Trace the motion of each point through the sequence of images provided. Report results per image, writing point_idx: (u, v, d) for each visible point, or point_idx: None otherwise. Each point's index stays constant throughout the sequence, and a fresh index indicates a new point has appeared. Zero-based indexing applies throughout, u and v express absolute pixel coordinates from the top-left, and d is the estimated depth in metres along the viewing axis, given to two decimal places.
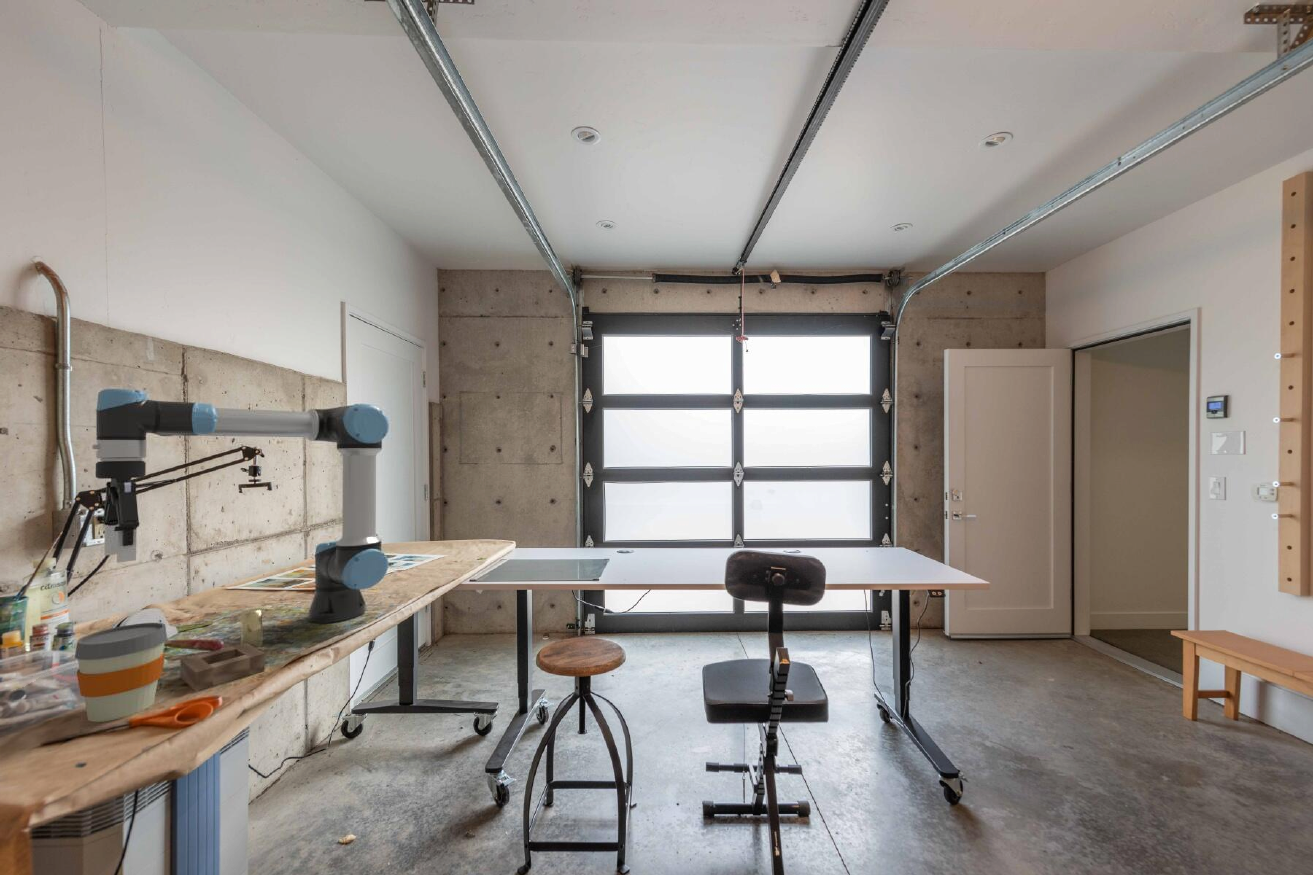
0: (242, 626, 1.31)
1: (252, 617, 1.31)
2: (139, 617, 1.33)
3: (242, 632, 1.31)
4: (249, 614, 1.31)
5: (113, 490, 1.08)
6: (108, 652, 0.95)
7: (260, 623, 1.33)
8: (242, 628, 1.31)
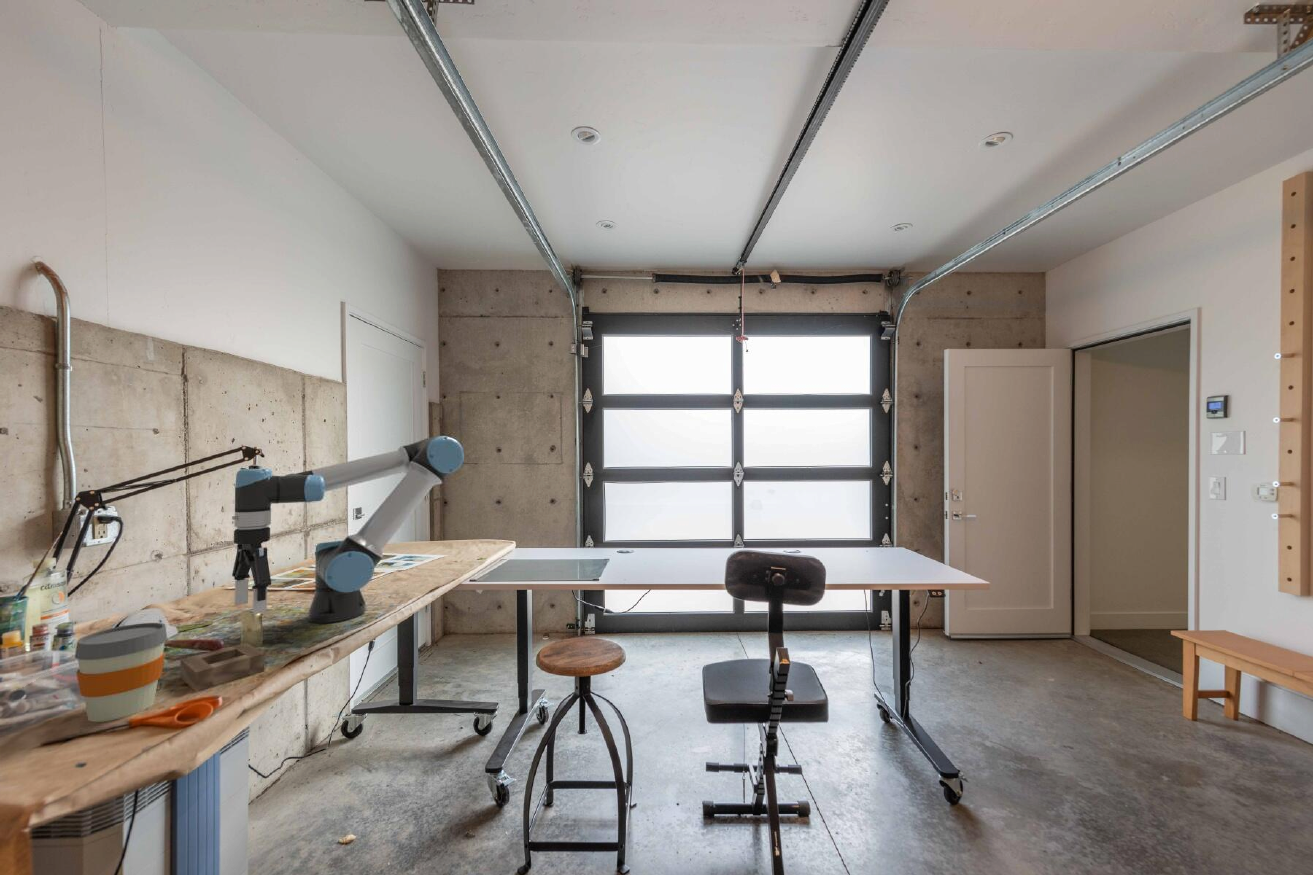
0: (242, 626, 1.31)
1: (252, 617, 1.31)
2: (139, 617, 1.33)
3: (242, 632, 1.31)
4: (249, 614, 1.31)
5: (248, 553, 1.31)
6: (108, 652, 0.95)
7: (260, 623, 1.33)
8: (242, 628, 1.31)
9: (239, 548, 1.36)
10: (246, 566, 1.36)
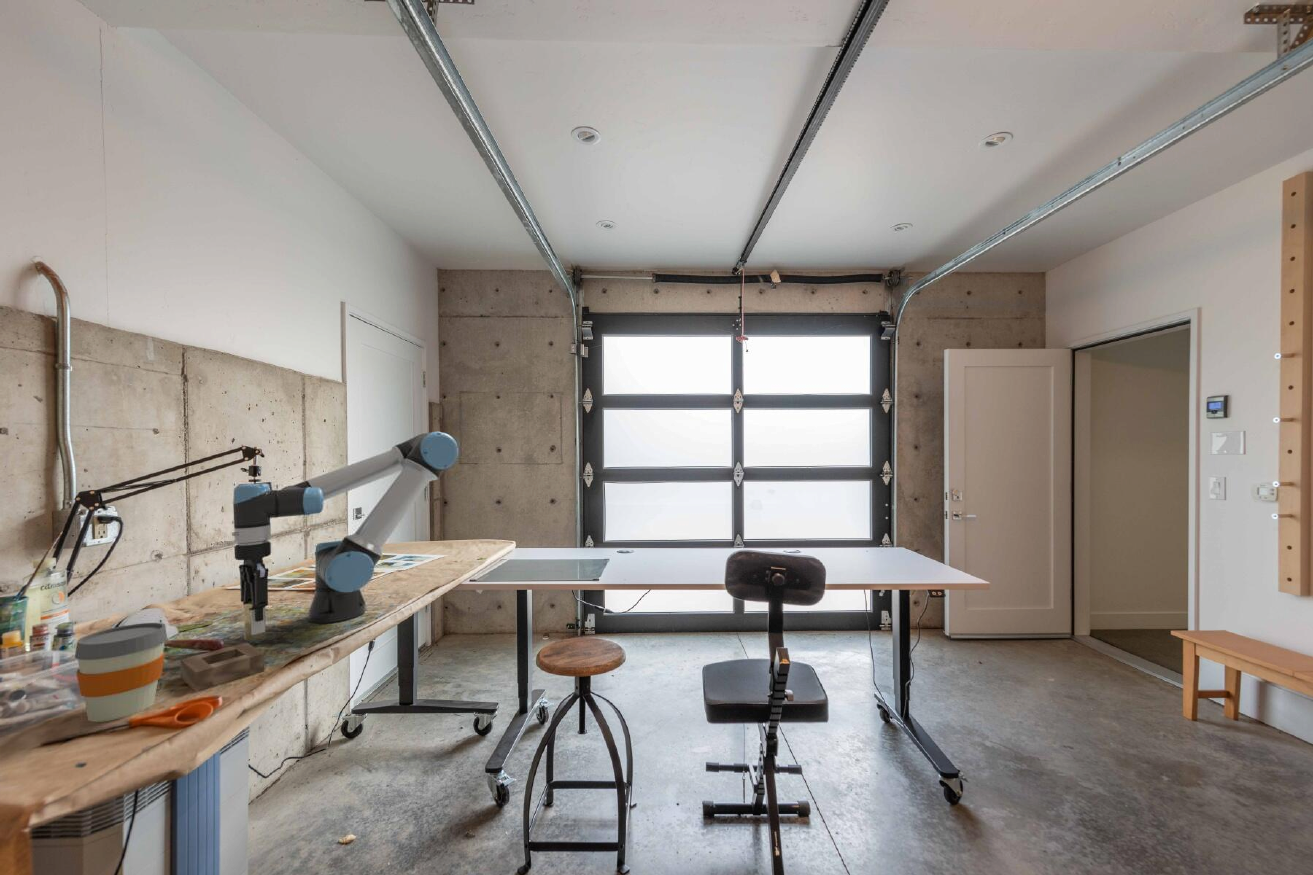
0: (245, 618, 1.31)
1: None
2: (138, 617, 1.33)
3: (245, 624, 1.31)
4: None
5: (249, 570, 1.31)
6: (108, 652, 0.95)
7: None
8: (245, 620, 1.31)
9: (241, 568, 1.35)
10: None
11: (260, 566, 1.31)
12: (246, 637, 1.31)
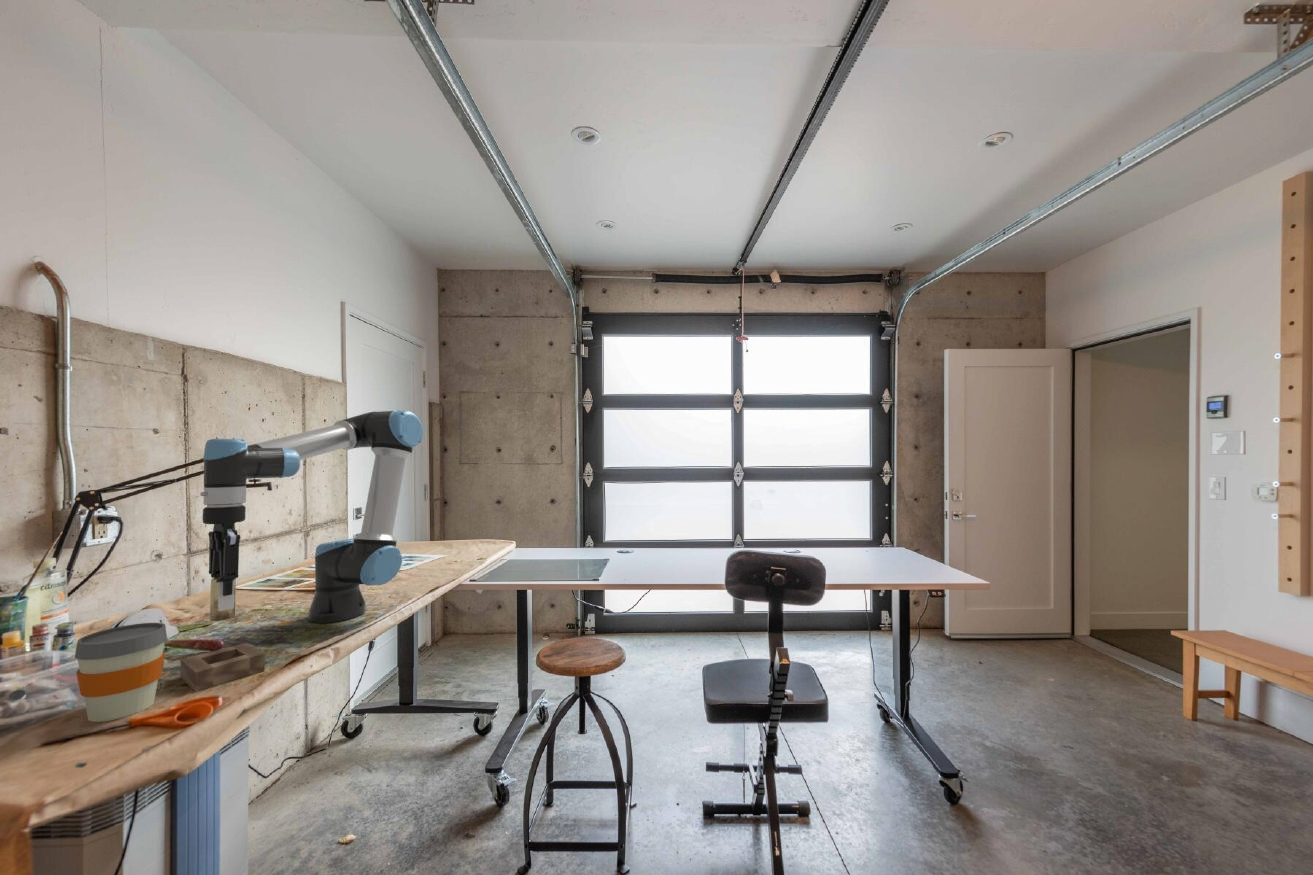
0: (211, 595, 1.14)
1: None
2: (138, 617, 1.33)
3: (211, 602, 1.14)
4: None
5: (218, 536, 1.14)
6: (108, 652, 0.95)
7: None
8: (211, 597, 1.14)
9: (211, 535, 1.19)
10: None
11: (231, 532, 1.14)
12: (211, 617, 1.14)
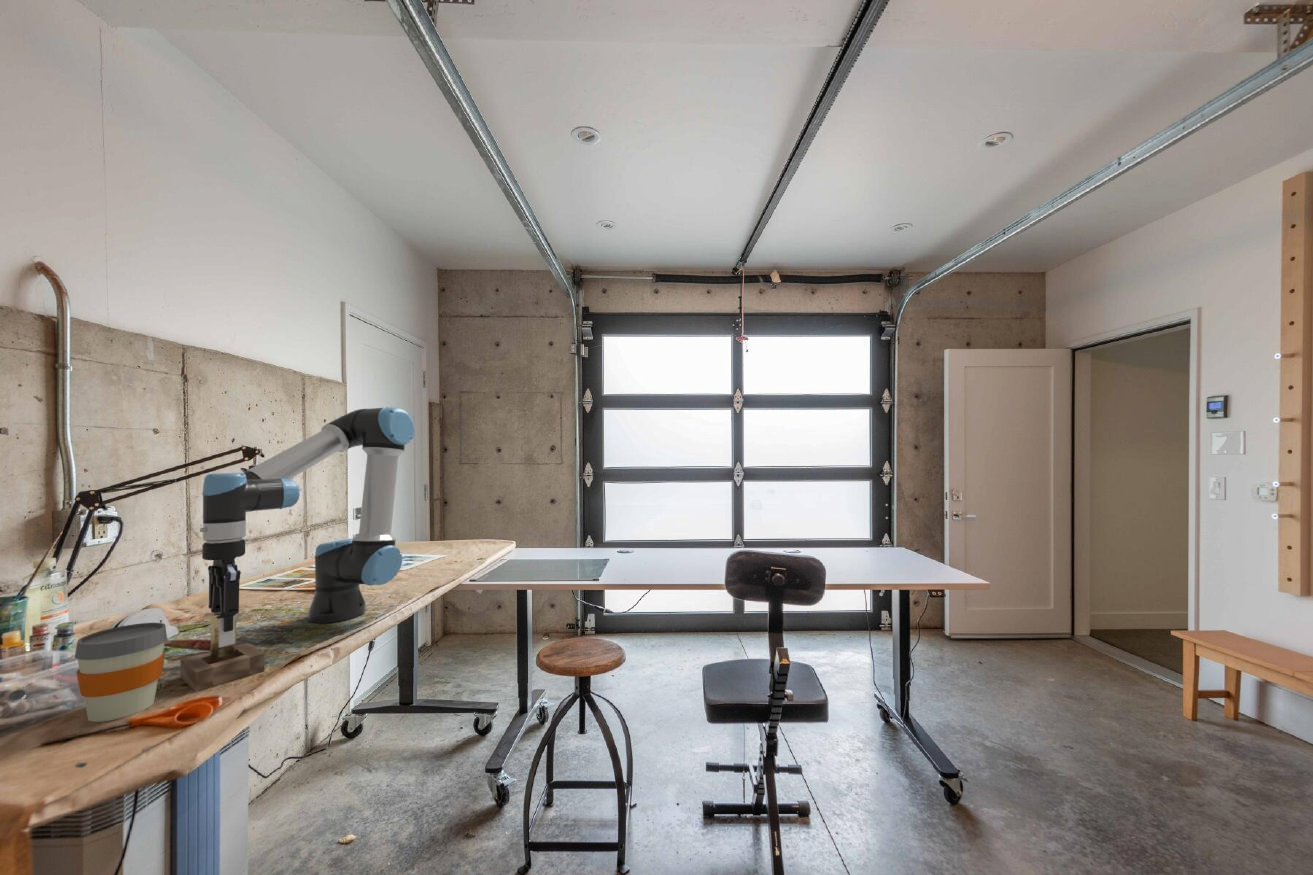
0: (212, 631, 1.14)
1: None
2: (138, 617, 1.33)
3: (212, 638, 1.14)
4: None
5: (218, 572, 1.14)
6: (108, 652, 0.95)
7: None
8: (212, 634, 1.14)
9: None
10: None
11: (231, 568, 1.14)
12: (212, 654, 1.13)
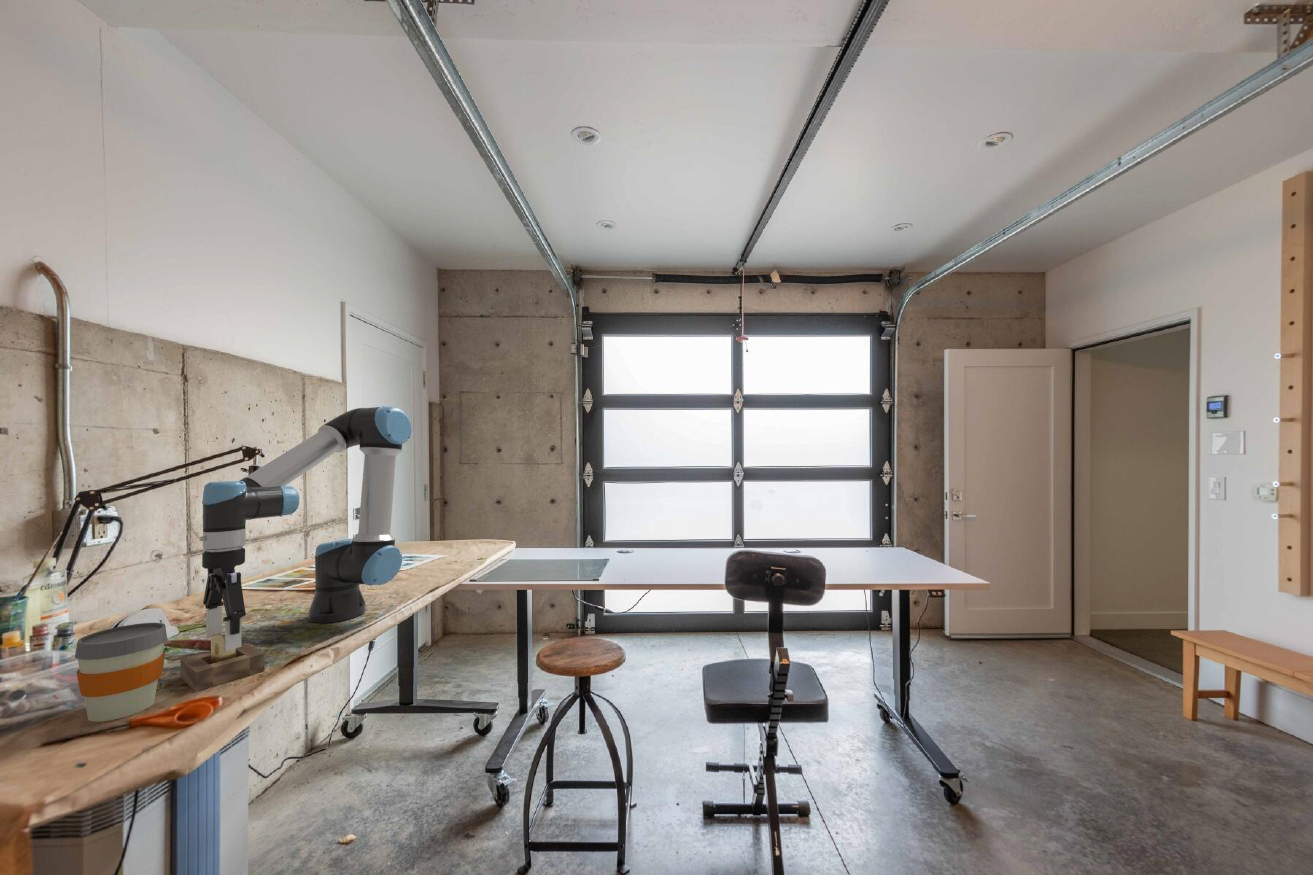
0: (212, 652, 1.13)
1: (223, 641, 1.14)
2: (138, 617, 1.33)
3: (212, 659, 1.13)
4: (220, 638, 1.14)
5: (219, 579, 1.14)
6: (108, 651, 0.95)
7: None
8: (212, 655, 1.13)
9: (210, 572, 1.18)
10: (219, 593, 1.18)
11: (231, 573, 1.14)
12: None
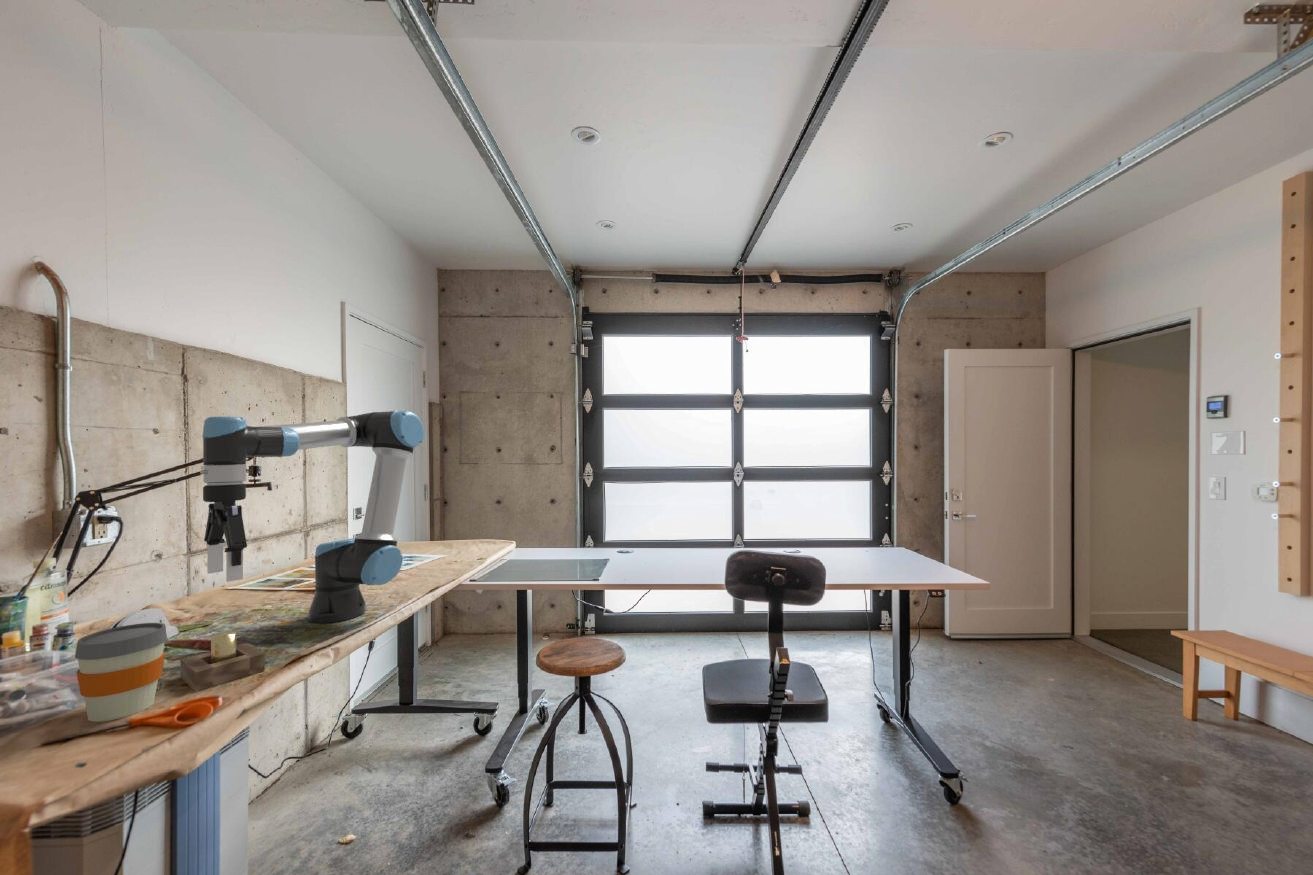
0: (212, 652, 1.13)
1: (223, 641, 1.14)
2: (137, 617, 1.33)
3: (212, 659, 1.13)
4: (220, 638, 1.14)
5: (220, 513, 1.14)
6: (108, 651, 0.95)
7: (233, 648, 1.16)
8: (212, 654, 1.13)
9: (211, 508, 1.19)
10: (220, 529, 1.19)
11: None
12: None
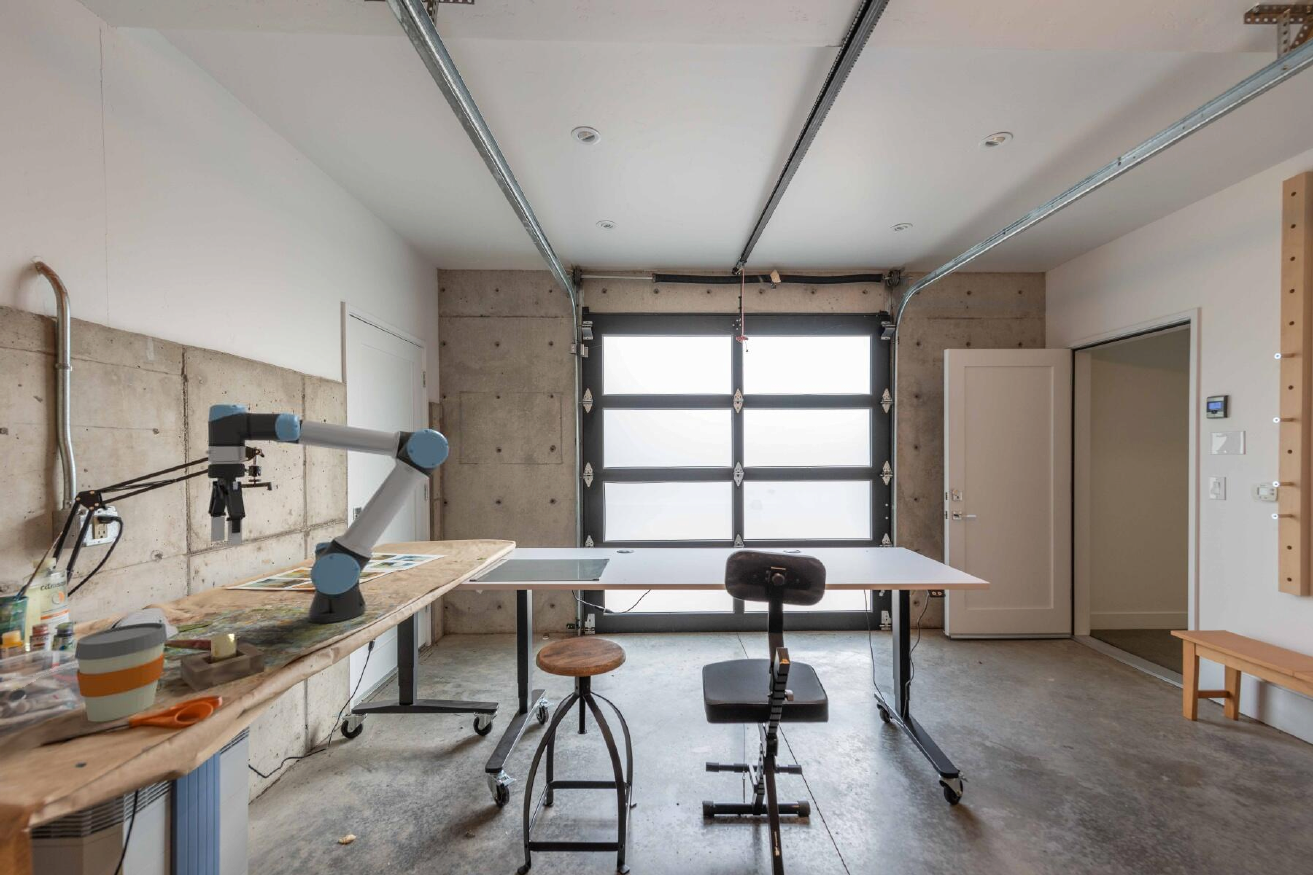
0: (212, 652, 1.13)
1: (223, 641, 1.14)
2: (136, 617, 1.33)
3: (212, 659, 1.13)
4: (220, 638, 1.14)
5: (222, 488, 1.32)
6: (108, 651, 0.95)
7: (233, 648, 1.16)
8: (212, 654, 1.13)
9: (214, 485, 1.36)
10: (222, 503, 1.37)
11: None
12: None
